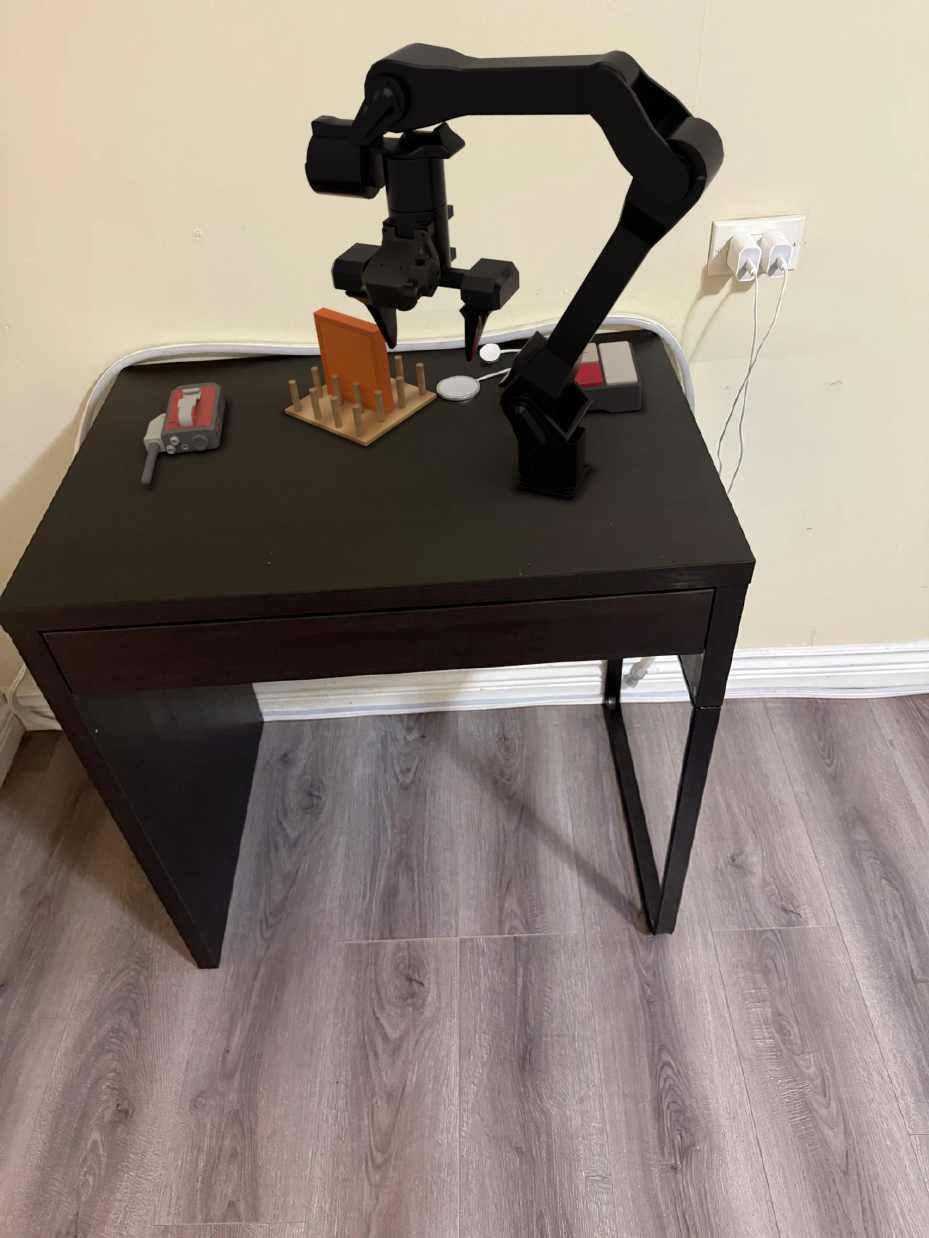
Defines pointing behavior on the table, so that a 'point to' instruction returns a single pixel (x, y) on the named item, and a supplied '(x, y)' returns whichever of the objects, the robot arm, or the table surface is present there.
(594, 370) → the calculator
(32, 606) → the table surface
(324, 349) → the lid
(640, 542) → the table surface
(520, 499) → the table surface
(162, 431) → the walkie-talkie
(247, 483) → the table surface
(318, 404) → the rack
